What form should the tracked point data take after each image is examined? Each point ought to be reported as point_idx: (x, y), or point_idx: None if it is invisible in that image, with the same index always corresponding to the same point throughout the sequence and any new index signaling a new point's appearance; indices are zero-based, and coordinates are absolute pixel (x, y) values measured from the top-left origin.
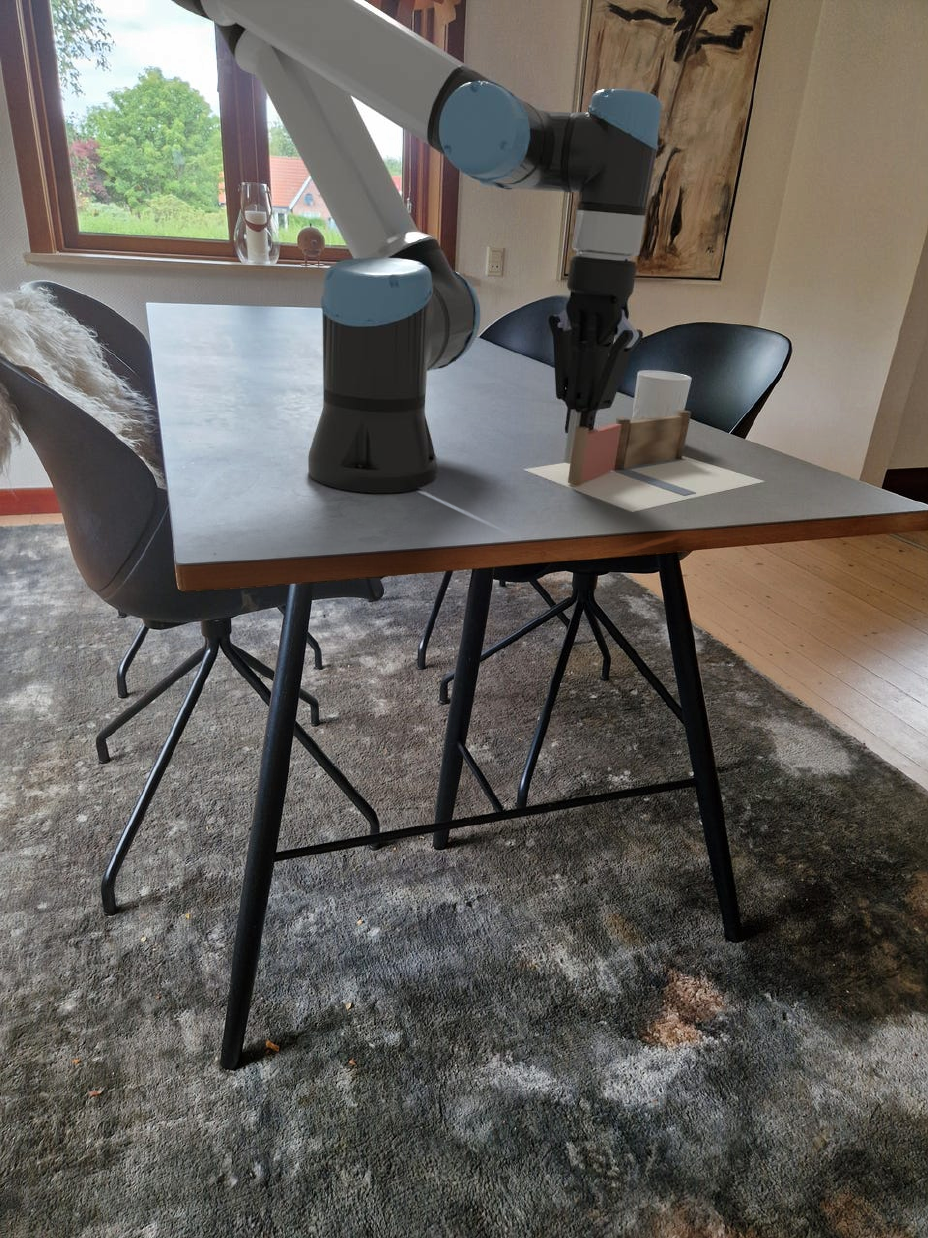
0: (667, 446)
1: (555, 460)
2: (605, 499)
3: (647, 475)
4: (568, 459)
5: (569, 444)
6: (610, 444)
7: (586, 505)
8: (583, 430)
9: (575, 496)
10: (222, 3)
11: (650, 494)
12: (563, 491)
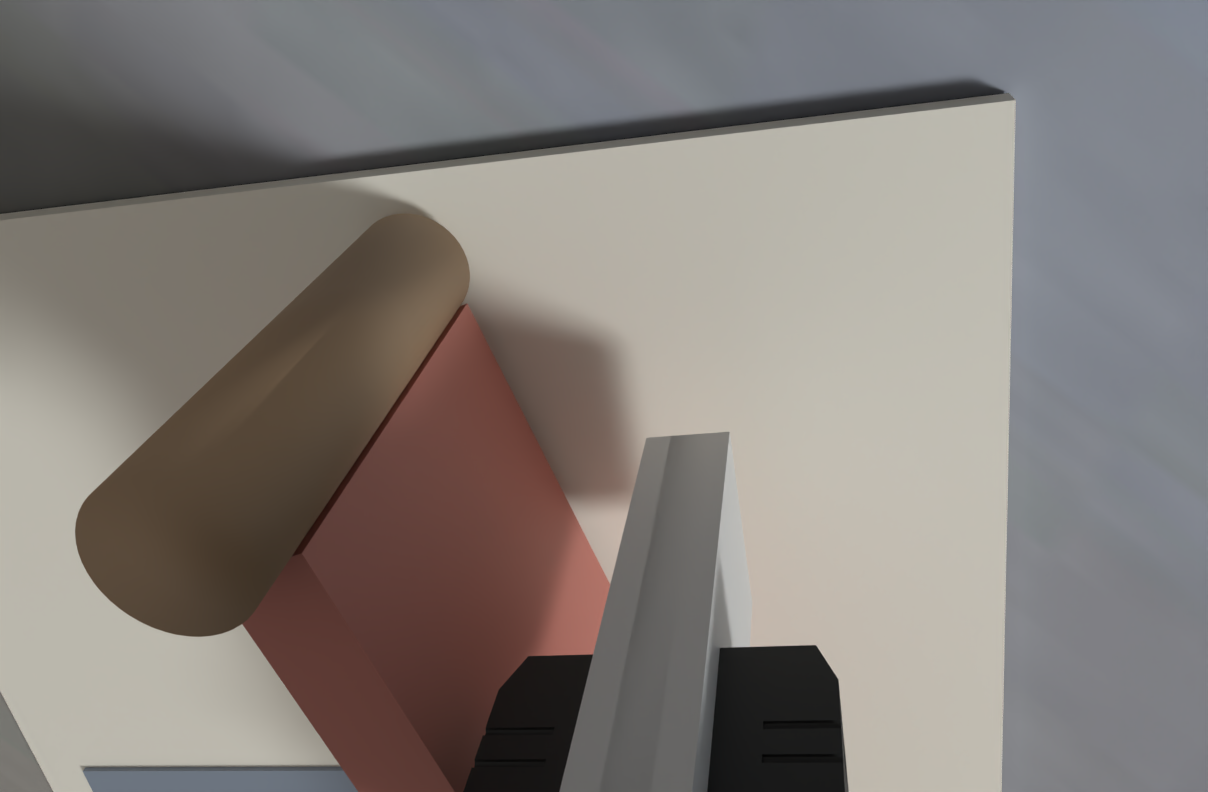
0: None
1: (1170, 629)
2: (35, 253)
3: None
4: (665, 453)
5: (666, 538)
6: None
7: (6, 55)
8: (88, 512)
9: (232, 123)
10: None
11: (127, 621)
12: (373, 110)
